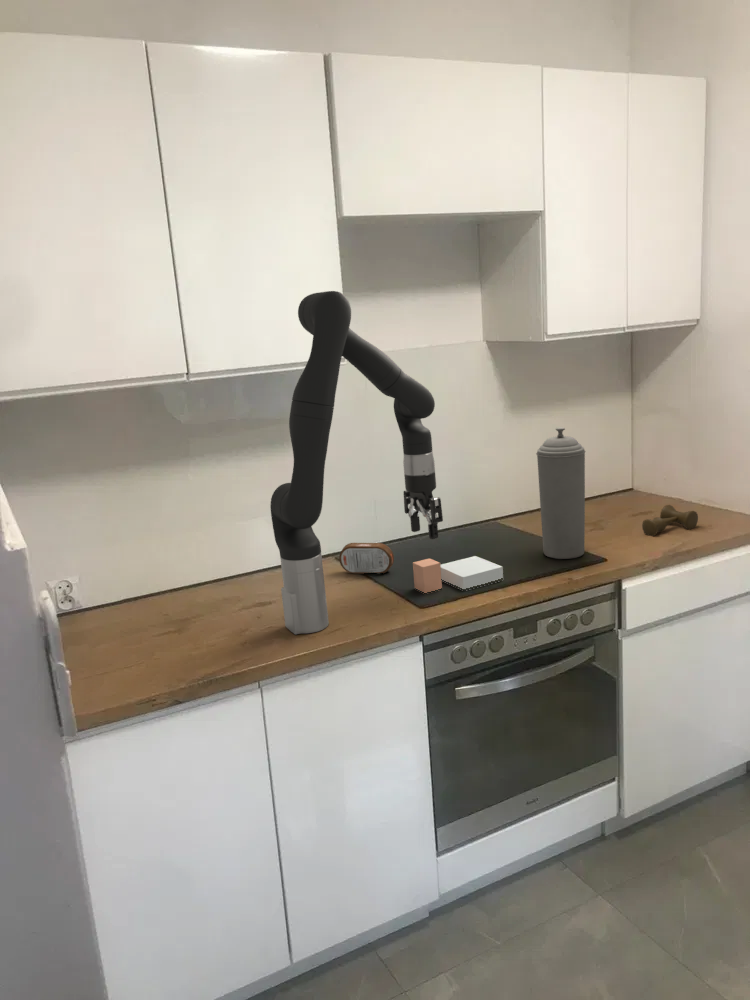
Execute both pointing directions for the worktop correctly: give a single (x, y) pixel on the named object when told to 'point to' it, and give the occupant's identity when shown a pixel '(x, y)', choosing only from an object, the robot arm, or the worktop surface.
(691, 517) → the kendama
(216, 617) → the worktop surface
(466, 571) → the white block
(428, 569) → the terracotta block
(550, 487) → the canister
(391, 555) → the tin
